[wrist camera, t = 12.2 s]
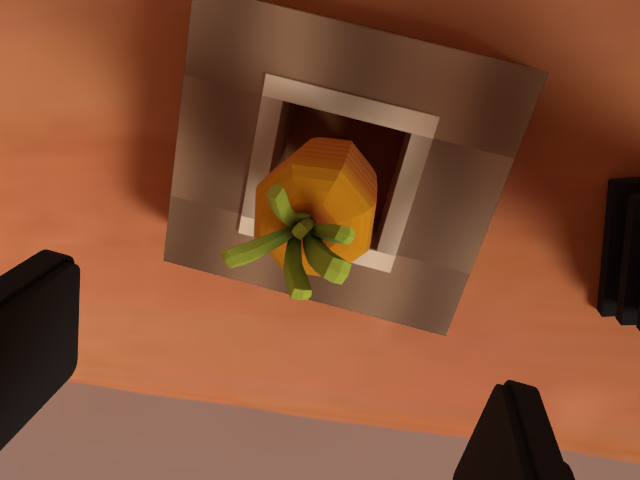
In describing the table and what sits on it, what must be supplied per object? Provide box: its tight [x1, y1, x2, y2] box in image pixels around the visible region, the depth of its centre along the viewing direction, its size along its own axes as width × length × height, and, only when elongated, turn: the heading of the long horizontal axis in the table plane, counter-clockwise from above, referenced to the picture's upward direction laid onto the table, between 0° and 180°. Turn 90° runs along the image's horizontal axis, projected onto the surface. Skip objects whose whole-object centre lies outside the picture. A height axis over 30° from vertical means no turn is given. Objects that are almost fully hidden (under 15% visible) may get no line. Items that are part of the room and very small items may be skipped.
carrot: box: [220, 137, 377, 300], centre depth 22 cm, size 5×5×15 cm
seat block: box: [163, 0, 548, 336], centre depth 27 cm, size 16×14×4 cm
